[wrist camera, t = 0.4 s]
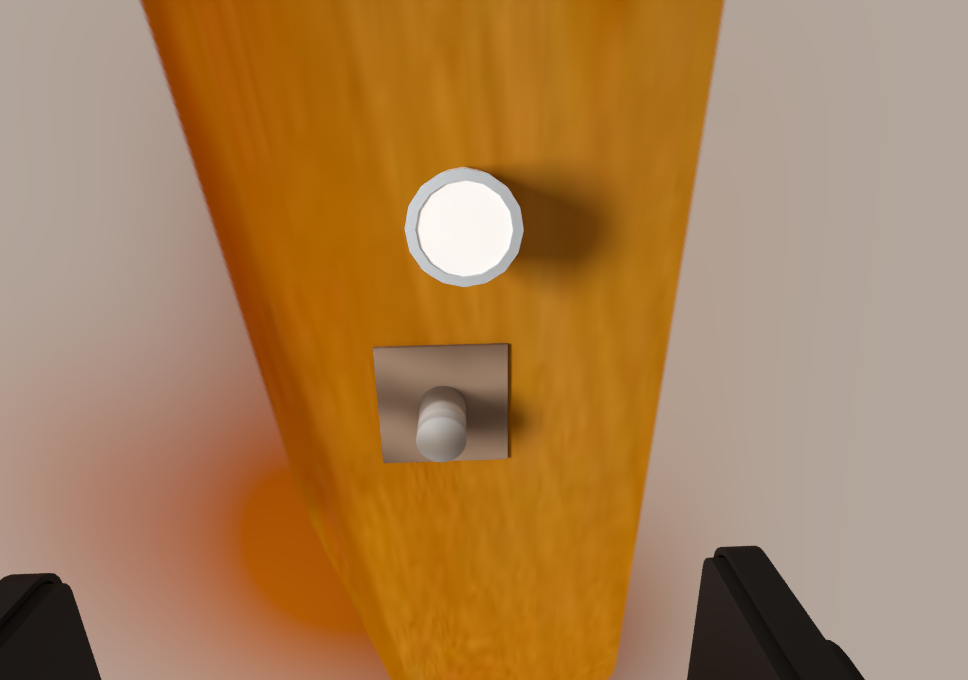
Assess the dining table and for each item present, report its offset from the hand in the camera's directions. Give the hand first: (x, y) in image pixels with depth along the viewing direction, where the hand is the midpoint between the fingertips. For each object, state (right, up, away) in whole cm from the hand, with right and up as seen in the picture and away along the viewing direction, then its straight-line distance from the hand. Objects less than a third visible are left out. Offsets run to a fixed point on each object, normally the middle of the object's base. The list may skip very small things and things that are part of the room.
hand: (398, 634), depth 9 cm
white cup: (0, +13, +32) cm, 34 cm away
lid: (-2, 0, +38) cm, 38 cm away
